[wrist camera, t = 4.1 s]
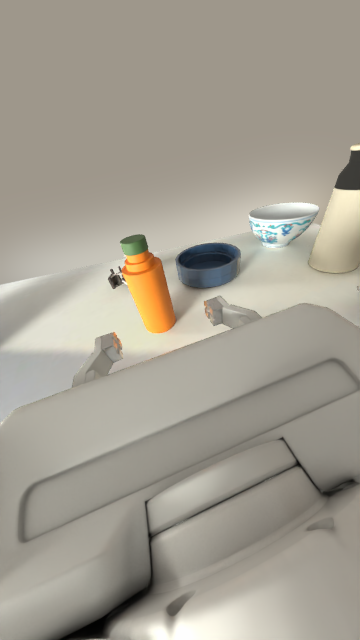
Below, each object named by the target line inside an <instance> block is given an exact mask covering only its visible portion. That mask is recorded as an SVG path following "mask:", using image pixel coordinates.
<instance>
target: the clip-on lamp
mask: <svg viewBox="0 0 360 640" xmlns="http://www.w3.org/2000/svg"><path fill="white" fill-rule="evenodd" d="M124 257H125V258H126V256H125V255H124ZM118 268H119V270H120V272H118V273H116V274H115V273H114V271H113V269H111V270H110V271H111V273H112V274H111V275H110V277H109V278H108V280H109V282H110V284H111V286H112V288H113V289H115V288H116V287H118V286H119V285H122V284H127V283H126V280H125V278H124V276H123V274H122V270H121V268H120V266H119V267H118ZM120 274H122V277H123V278H122V280H121V278H120V277H119V275H120Z"/></svg>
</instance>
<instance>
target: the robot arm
mask: <svg viewBox="0 0 360 640" xmlns="http://www.w3.org/2000/svg"><path fill="white" fill-rule="evenodd" d="M204 305H205V306H206V308H205V313H206V316H207V317H208V318H209V319H210V322H211V323H212V324H213V326H215V325H218V324H221V323H222V324H224V325H227V326H229V327H231V328H233V329H231V330H228V331H225V332H223V333H220V334H217V335H214V336H212V337H209V338H206V339H204V340H201V341H198V342H195V343H193V344H190V345H187V346H185V347H182V348H179V349H176V350H174V351H171V352H168V353H166V354H163V355H160V356H158V357H155V358H152V359H149V360H147V361H144V362H141V363H139V364H136V365H133V366H130V367H128V368H125V369H122V370H120V371H117V372H114V373H111V374H109V375H108V373H109V371H110V369H111V367H112V365H113V363H114V362H116V361H119V360H121V359H123V353H122V351H121V350H122V344H121V342H120V340H119V339H118V338H117V335H116V334H115V332H113V333H110V334H106V335H103V336H100V337H97V338H96V339H95V348H94V353H92V354H91V355H90V357H89V358H88V359H87V360H86V362H85V363H84V364H83V366H82V367H81V368H80V369H79V371H78V372H77V373H76V375H75V376H74V379H73V384H72V388H71V389H68V390H65V391H63V392H60V393H57V394H54V395H52V396H49V397H46V398H44V399H41V400H38V401H35V402H33V403H30V404H27V405H24V406H21V407H19V408H17V409H15V410H14V411H13V412H11V413H10V414H9V415H8V416H7V417H6V418H5V419H4V420H3V421H2V422H1V423H0V640H360V328H359V327H357V326H356V325H354V324H353V323H351V322H350V321H348V320H347V319H345V318H344V317H342V316H341V315H339V314H338V313H336V312H335V311H333V310H331V309H329V308H327V307H322V306H318V305H313V304H307V303H302V304H298V305H295V306H293V307H290V308H287V309H285V310H282V311H279V312H277V313H274V314H271V315H269V316H266V317H263V318H262V317H261V316H260V315H259V314H258V313H257V312H255V311H253V310H249V309H246V308H242V307H238V306H235V305H229V304H228V303H227V302H226V301H225V300H224V299H223V298H222V297H221V296H218V297H215V298H212V299H210V300H207V301H204Z"/></svg>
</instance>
